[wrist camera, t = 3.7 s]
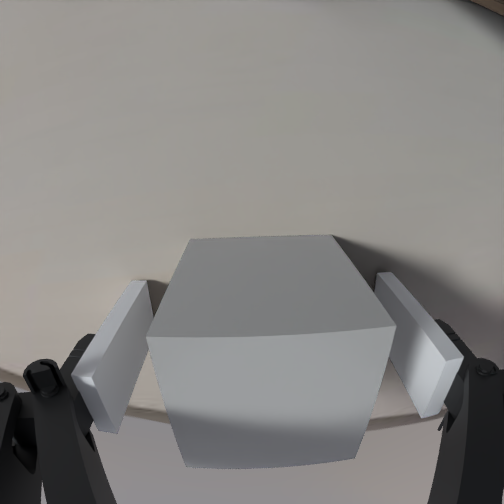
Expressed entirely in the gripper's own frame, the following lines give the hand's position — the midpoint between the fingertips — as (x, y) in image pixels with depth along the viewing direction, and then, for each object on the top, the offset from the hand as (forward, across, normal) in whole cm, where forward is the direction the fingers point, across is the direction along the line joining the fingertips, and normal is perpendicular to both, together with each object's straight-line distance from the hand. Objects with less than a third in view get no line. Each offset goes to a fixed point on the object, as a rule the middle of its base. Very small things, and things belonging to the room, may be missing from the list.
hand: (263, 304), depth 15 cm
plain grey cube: (0, 0, 0) cm, 0 cm away
